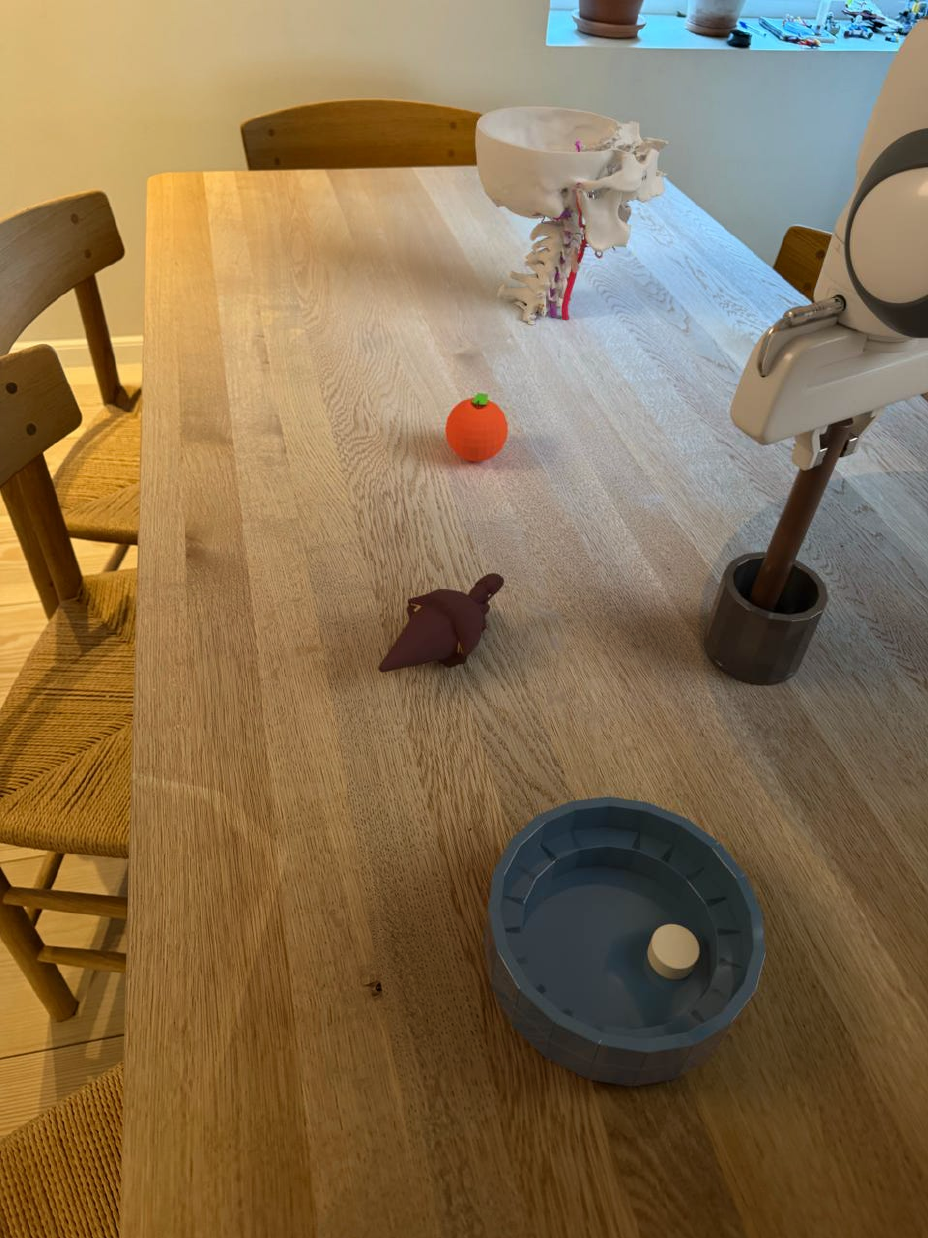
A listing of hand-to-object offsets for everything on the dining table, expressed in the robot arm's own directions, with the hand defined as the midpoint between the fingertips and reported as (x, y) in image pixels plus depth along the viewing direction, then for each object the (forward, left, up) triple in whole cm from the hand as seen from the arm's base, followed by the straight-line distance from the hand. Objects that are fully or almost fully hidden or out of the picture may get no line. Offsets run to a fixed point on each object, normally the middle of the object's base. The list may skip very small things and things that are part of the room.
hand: (823, 458), depth 73 cm
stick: (0, -1, -16) cm, 16 cm away
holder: (0, 0, -21) cm, 21 cm away
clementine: (+29, -26, -21) cm, 44 cm away
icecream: (+28, +6, -21) cm, 36 cm away
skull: (+23, -66, -21) cm, 73 cm away
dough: (+8, +32, -20) cm, 39 cm away
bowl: (+12, +32, -21) cm, 40 cm away
